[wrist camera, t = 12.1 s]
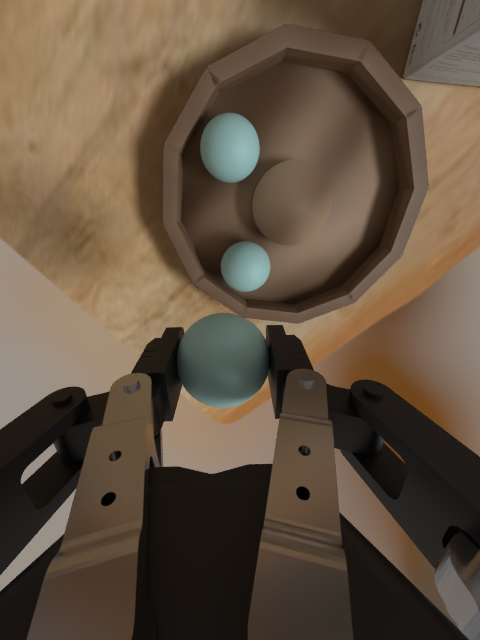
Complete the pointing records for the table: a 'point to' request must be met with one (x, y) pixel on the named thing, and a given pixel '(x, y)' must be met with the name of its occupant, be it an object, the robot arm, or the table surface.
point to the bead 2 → (245, 266)
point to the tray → (300, 173)
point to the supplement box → (446, 43)
